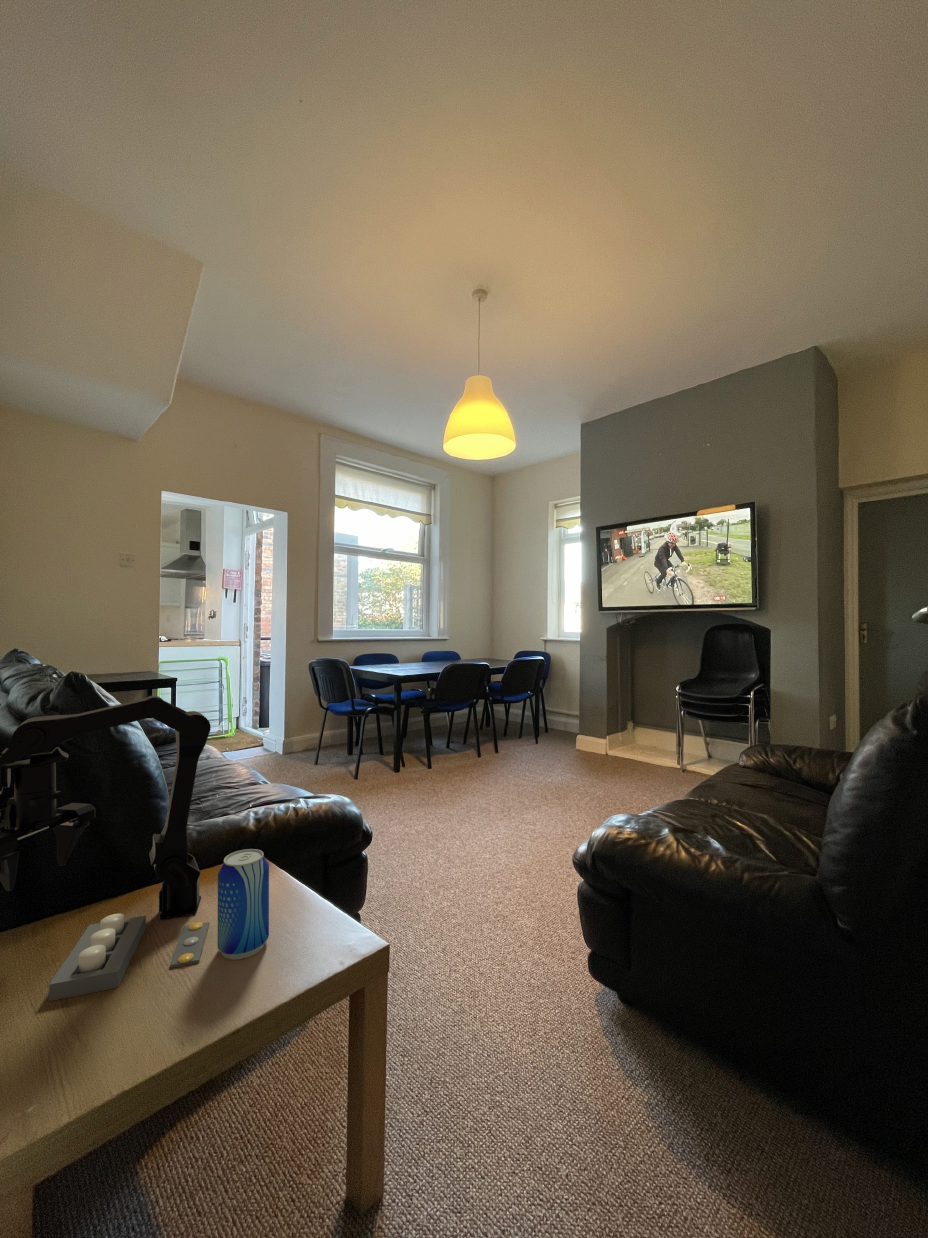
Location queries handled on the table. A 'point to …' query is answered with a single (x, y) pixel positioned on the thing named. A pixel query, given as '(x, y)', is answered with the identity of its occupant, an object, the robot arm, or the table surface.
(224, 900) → the beer can
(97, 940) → the button mid
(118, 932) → the button
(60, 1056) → the table surface
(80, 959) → the button
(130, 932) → the button board
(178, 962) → the pattern tile
